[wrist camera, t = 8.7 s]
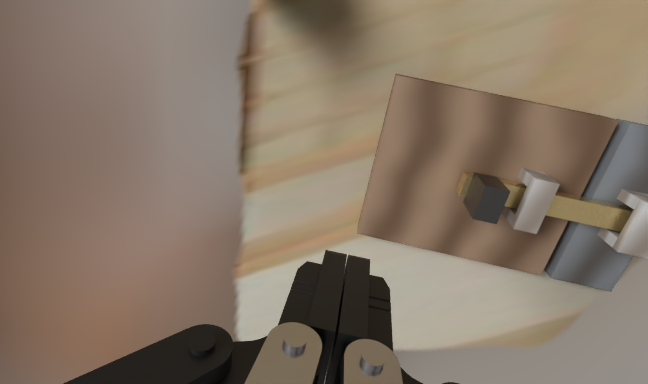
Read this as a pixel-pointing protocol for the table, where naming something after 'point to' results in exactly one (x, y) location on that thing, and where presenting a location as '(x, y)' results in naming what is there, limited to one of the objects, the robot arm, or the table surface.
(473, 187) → the barrel bolt
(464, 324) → the table surface
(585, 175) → the sliding latch board
